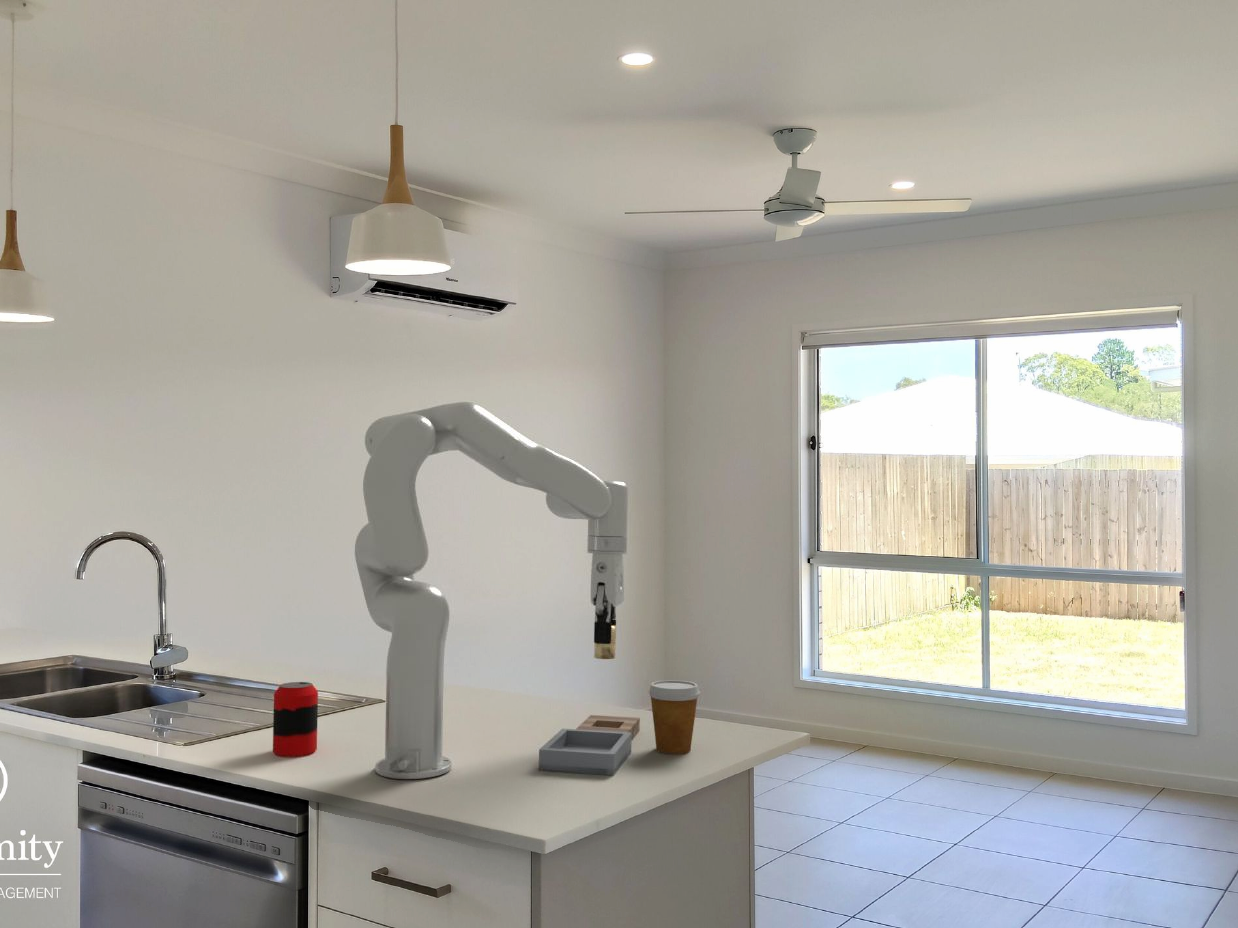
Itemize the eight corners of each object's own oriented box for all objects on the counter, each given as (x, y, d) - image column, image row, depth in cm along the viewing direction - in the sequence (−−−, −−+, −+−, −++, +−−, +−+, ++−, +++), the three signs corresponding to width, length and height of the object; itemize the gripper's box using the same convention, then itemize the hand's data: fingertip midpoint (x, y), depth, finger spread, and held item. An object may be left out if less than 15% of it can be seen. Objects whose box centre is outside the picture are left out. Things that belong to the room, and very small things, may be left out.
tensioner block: (626, 747, 193) (626, 733, 193) (573, 743, 195) (574, 730, 195) (639, 730, 207) (639, 717, 207) (590, 727, 209) (590, 714, 209)
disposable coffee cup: (707, 748, 194) (708, 683, 194) (684, 759, 185) (685, 691, 186) (662, 741, 198) (663, 677, 199) (638, 751, 190) (639, 685, 191)
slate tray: (613, 775, 174) (614, 754, 174) (538, 770, 177) (539, 749, 177) (631, 751, 190) (631, 732, 190) (562, 747, 193) (562, 728, 193)
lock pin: (613, 659, 196) (613, 627, 196) (592, 658, 197) (592, 626, 197) (616, 656, 200) (617, 624, 200) (596, 655, 201) (597, 624, 201)
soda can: (325, 749, 189) (327, 683, 189) (298, 759, 182) (299, 690, 182) (291, 745, 192) (293, 679, 192) (263, 754, 185) (264, 686, 185)
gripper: (618, 548, 190) (616, 649, 190) (633, 544, 207) (631, 637, 206) (578, 546, 191) (576, 647, 191) (596, 543, 208) (594, 635, 207)
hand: (604, 640), depth 199 cm, fingers closed on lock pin, 4 cm apart
